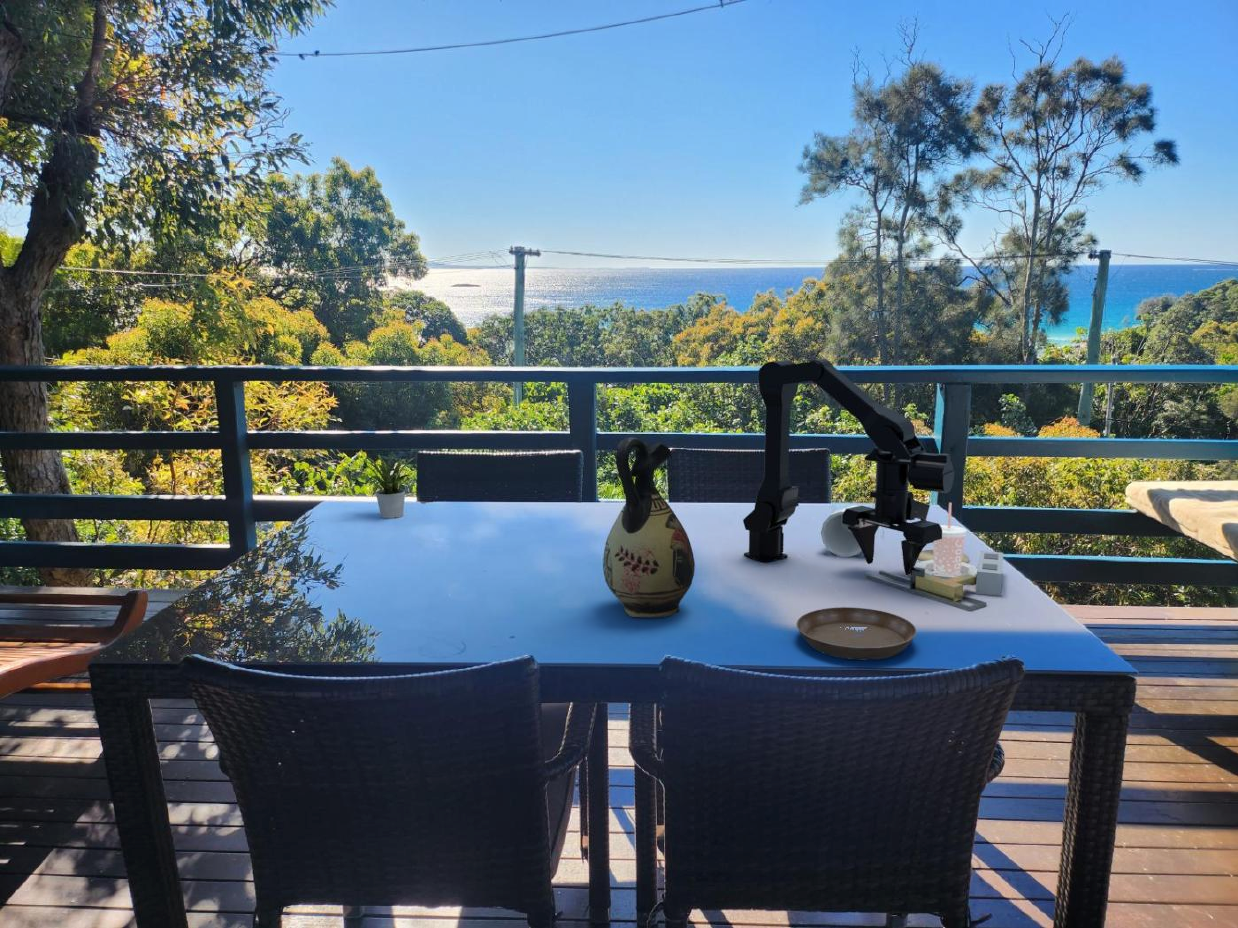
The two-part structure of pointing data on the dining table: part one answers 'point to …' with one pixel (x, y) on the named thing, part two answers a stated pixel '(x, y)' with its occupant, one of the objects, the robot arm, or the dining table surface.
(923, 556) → the coaster
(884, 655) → the plant saucer
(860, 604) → the dining table surface
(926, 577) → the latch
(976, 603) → the rail
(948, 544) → the beverage cup
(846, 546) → the foam cup
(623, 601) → the ceramic jug
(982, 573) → the socket
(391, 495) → the house plant
